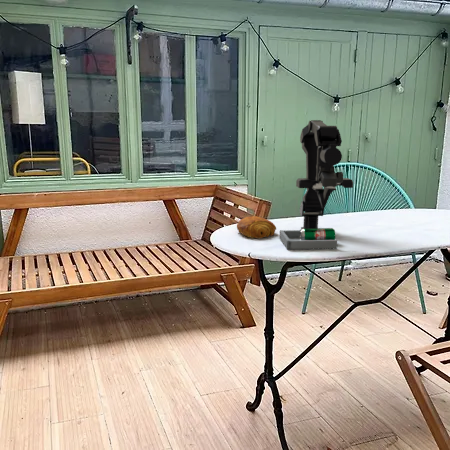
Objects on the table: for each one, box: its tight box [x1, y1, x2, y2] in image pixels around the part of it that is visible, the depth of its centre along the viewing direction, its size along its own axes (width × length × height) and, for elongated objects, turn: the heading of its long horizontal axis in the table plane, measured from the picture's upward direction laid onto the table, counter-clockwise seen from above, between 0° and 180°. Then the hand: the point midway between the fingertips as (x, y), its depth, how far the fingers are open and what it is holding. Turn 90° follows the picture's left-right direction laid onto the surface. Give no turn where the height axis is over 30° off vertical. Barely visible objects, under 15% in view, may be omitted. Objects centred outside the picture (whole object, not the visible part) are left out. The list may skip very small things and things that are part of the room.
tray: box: [278, 229, 338, 251], centre depth 163 cm, size 16×17×3 cm
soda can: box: [299, 227, 337, 240], centre depth 163 cm, size 5×5×12 cm
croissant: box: [236, 215, 277, 239], centre depth 177 cm, size 14×16×8 cm
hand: (323, 207), depth 161 cm, fingers closed
